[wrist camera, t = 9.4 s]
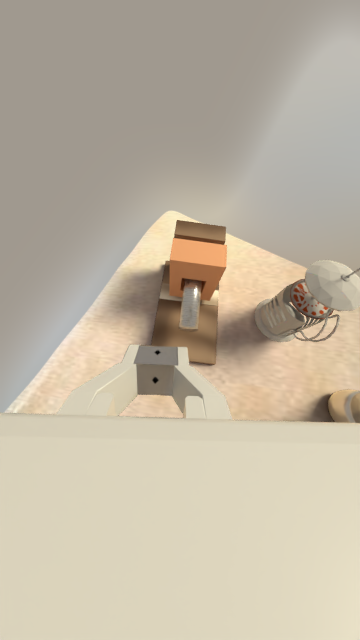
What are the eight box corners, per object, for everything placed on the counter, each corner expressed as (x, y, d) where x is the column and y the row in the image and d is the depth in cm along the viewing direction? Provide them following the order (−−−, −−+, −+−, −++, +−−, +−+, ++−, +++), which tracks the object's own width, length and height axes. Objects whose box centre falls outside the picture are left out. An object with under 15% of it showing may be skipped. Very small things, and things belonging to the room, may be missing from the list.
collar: (209, 300, 35) (226, 267, 25) (169, 295, 34) (169, 259, 25) (210, 283, 36) (226, 245, 26) (171, 278, 36) (173, 237, 26)
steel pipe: (196, 332, 29) (199, 327, 26) (178, 330, 29) (179, 324, 26) (202, 259, 34) (205, 248, 31) (187, 257, 34) (188, 245, 31)
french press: (296, 300, 39) (490, 172, 15) (305, 353, 35) (588, 286, 11) (252, 296, 38) (383, 158, 15) (256, 348, 34) (444, 270, 11)
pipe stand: (213, 364, 33) (238, 353, 21) (149, 356, 33) (140, 341, 21) (218, 271, 40) (237, 225, 29) (165, 264, 40) (165, 215, 29)
